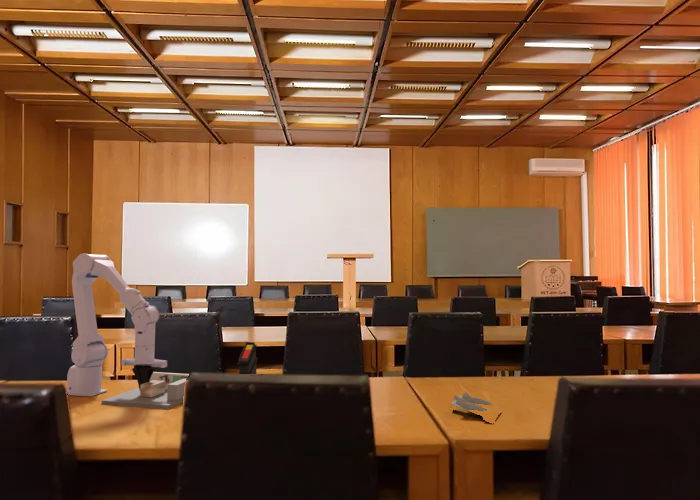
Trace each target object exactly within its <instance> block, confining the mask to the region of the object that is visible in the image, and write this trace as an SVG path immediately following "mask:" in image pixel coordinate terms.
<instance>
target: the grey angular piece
mask: <svg viewBox="0 0 700 500" xmlns="http://www.w3.org/2000/svg"><path fill="white" fill-rule="evenodd" d="M475 403H476V404H484V405H492V406H493V403H492V402H490V401H488V400H486V399H483V398H481V397H476V396H475V397H474V396H471V395H470V394H469V393H467V392H463V394H461V395H453V401H452V402H451V403H450V405H452V406H453V405H454V406H456V408H459V409H460V410H464V411H466V412H468V411H469V410H478V411H484V410H485V411H487V409H485V408H483V407H481V406H478V405H476V404H475Z"/></svg>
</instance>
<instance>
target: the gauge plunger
mask: <svg viewBox="0 0 700 500" xmlns="http://www.w3.org/2000/svg"><path fill="white" fill-rule="evenodd" d="M163 377H165V381H162V380H153V381H150V382H147V383H144V384H141V388H140V396H142V397H154V396H157V395H159V394H162V393H164V392H165V385H166V383H167V379H168V374H165V375H163V376H160V377H159V378H163Z"/></svg>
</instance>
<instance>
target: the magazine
mask: <svg viewBox="0 0 700 500" xmlns="http://www.w3.org/2000/svg"><path fill="white" fill-rule="evenodd" d="M243 346H244V347H243V348H242V351H241V353H240V355H239V358H238V362H237V363H236V366H237V367H238V369H239V372H238V374H257V362H258V357H257V352H256V350H257V347H258V345H257V344H256V343H255V342H254V341H253V342H252V341H247V342H245V344H244V345H243Z"/></svg>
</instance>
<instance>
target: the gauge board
mask: <svg viewBox="0 0 700 500" xmlns="http://www.w3.org/2000/svg"><path fill="white" fill-rule="evenodd" d="M165 374H168V379H167V383H166V385H165V392H164V393H162V394H159V395H157V396H154V397H142V396H140V389H139V387H136V388H133V389H131V390H127V391H125V392H122V393H119V394H116V395H114V396H110V397H108V398H105V399H102V400H101V405H108V406H109V405H110V406H111V405H112V406H122V407H123V406H127V407H137V408H149V409H151V408H152V409H161V410H162V409H164V410H165V409H166V410H169V409H171V408H174V407H176V406H177V405H180V404H182V403H184V402H183V396H184V386H185V381H186V379H187V378H188V376H189V374H190V373H176V372H175V373H174V372H161V371H160V372H159V371H158V372H157V371H154V372H153V374H152V376H151V378H150V381H153V380H162V381H165V377H163V378H159V377H160V376H163V375H165ZM150 381H149V382H150Z"/></svg>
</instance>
